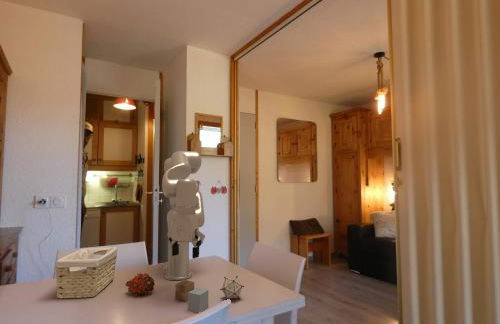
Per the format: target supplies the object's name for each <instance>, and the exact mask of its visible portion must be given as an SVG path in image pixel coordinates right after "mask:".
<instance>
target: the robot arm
mask: <svg viewBox="0 0 500 324" xmlns="http://www.w3.org/2000/svg"><path fill="white" fill-rule="evenodd" d="M202 162H203V161H202V157H201V154H200V153H199V152H198V151H192V150H191V151H189V150H177V151H175V152H173V153H172V155H171V157H169V158H166V159H165V160H164V163H163V165H164V166H163V167H164V169H163V171H164V174H163V176H162V179H161V180H162V182H161V185H162V190H161V191H162V193H163V195H164V197H166V198H169V203H170V207H171V208H173V209H171V210H169V211H168V212H167V215H166V216H167V217H166V221H167V230H168V232H167V237H168V253H167V254H168V255H167V256H168V262H167V264H164V267H162V271H166V272H165V274H164V279H166V280H168V281H183V280H187V279H190V278H192V276H193V272H192V271H191V270H190V243H191V245H192V246H193V247H192V252H191V253H192V254H191V255H192V257H191V258H192V259H197V258H199V256H200V247H201V246H202V244H203V243H204V241H205V238H206V235H205V234H204V233H202V232H201V231H200V228H202V227H203V226H204V225H205V219H206V218H205V211H204V202H203V201H204V200H203V195H202V192H201V191H200V190H199V185H198V183H197V181H196V180H195V179H191V178H188V177H190V175H193V174H194V175H195V174H197V172H199V170H200V168H201V166H202Z"/></svg>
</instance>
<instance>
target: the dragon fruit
mask: <svg viewBox="0 0 500 324" xmlns="http://www.w3.org/2000/svg"><path fill="white" fill-rule="evenodd" d="M155 285H156V283H155V280H154V278H153V277H152V276H151V275H149V273H146V272H145V273H136V275H135V276H134V277H133V278H131V279H129V280H128V281H126V283H125V287H128V288H127V292H129V293H134V295H135V296H136V297H137V296H140V295H143V296H145V295H147V294H148V293H149V292H153V291H154V290H155V288H154V286H155Z"/></svg>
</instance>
